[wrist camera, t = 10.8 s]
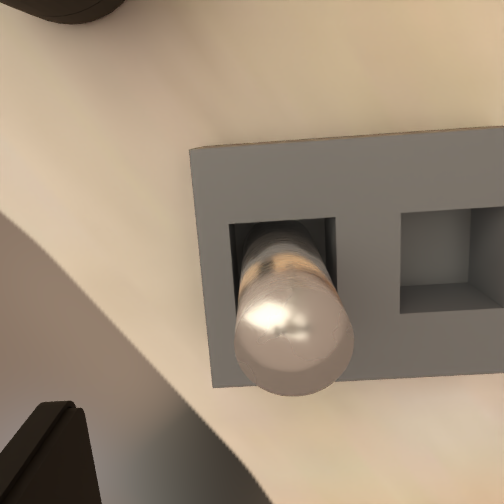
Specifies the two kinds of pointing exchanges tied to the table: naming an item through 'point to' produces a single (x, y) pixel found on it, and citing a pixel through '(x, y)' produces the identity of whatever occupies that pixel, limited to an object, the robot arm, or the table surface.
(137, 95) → the table surface
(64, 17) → the pen holder
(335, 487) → the table surface
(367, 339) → the hole block
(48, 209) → the table surface
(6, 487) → the robot arm
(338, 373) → the steel pin
